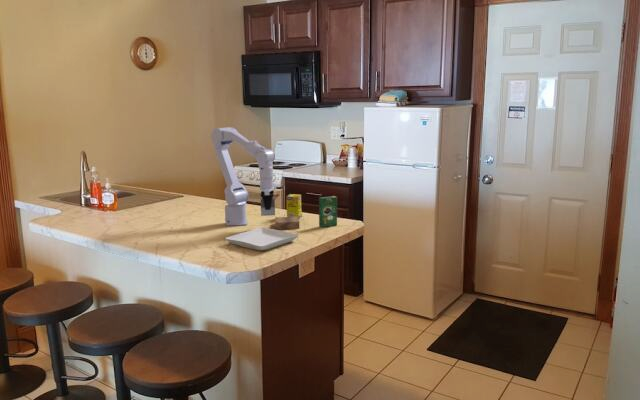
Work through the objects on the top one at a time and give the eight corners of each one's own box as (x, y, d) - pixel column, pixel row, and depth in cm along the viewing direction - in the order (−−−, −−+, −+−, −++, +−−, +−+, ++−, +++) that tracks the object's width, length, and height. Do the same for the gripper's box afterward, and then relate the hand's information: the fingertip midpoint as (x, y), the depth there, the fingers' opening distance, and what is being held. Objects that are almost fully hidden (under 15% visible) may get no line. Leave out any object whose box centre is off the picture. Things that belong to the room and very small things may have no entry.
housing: (261, 215, 221) (260, 198, 219) (261, 213, 224) (260, 196, 223) (275, 215, 221) (274, 197, 220) (275, 213, 225) (274, 195, 224)
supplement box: (299, 219, 239) (298, 196, 237) (286, 219, 240) (285, 196, 238) (302, 216, 245) (301, 194, 243) (289, 216, 246) (289, 194, 244)
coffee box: (334, 223, 229) (334, 195, 227) (337, 225, 227) (337, 196, 224) (318, 226, 226) (318, 197, 223) (322, 227, 223) (321, 198, 221)
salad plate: (262, 234, 217) (262, 226, 216) (300, 242, 203) (299, 233, 203) (223, 245, 201) (223, 237, 200) (261, 255, 187) (261, 246, 187)
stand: (276, 229, 222) (276, 222, 221) (275, 223, 232) (275, 217, 231) (299, 228, 223) (299, 221, 222) (297, 222, 233) (297, 216, 232)
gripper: (276, 179, 213) (277, 211, 216) (275, 174, 227) (276, 204, 230) (259, 180, 212) (260, 212, 215) (259, 175, 226) (261, 205, 229)
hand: (267, 208), depth 222 cm, fingers closed on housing, 4 cm apart
